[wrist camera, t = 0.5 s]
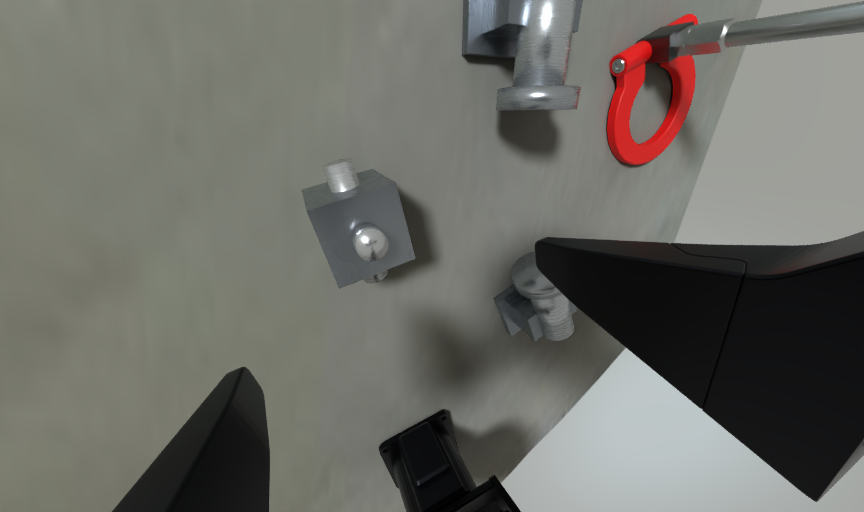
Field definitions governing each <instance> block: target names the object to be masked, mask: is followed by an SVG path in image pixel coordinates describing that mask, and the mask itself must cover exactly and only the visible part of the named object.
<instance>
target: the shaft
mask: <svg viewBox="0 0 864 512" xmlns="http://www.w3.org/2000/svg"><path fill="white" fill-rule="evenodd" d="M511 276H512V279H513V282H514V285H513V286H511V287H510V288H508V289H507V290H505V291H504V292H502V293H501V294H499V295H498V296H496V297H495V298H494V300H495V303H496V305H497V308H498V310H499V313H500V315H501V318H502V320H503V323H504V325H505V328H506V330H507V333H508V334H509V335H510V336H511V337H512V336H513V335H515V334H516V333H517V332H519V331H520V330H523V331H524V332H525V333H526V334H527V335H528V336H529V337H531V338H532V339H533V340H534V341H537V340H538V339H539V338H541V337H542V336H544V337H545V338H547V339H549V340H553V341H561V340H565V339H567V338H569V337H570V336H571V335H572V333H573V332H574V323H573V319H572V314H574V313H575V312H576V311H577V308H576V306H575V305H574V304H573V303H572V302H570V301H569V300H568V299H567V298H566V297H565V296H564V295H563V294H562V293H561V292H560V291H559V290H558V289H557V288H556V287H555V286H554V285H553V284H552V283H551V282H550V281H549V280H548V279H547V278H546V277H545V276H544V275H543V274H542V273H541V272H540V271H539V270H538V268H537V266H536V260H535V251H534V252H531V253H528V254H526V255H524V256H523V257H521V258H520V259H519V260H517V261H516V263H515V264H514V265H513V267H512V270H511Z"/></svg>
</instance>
